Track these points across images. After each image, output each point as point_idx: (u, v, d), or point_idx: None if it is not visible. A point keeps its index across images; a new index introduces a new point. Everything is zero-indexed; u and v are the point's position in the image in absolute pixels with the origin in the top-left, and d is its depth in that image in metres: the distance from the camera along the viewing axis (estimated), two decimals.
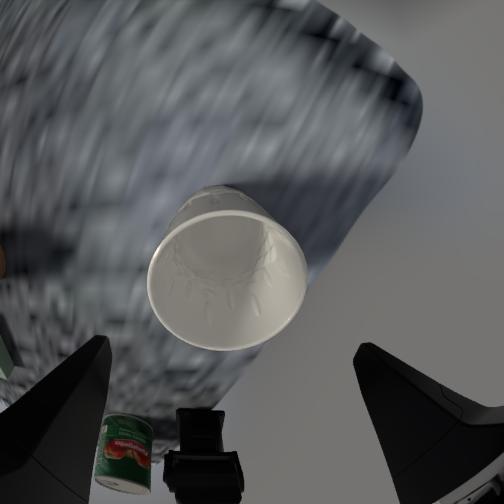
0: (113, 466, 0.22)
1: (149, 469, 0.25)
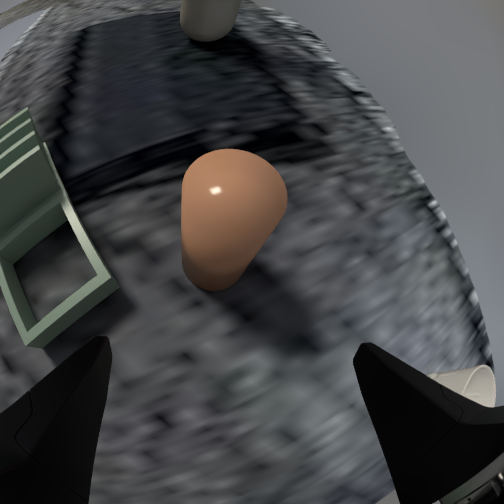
0: None
1: None
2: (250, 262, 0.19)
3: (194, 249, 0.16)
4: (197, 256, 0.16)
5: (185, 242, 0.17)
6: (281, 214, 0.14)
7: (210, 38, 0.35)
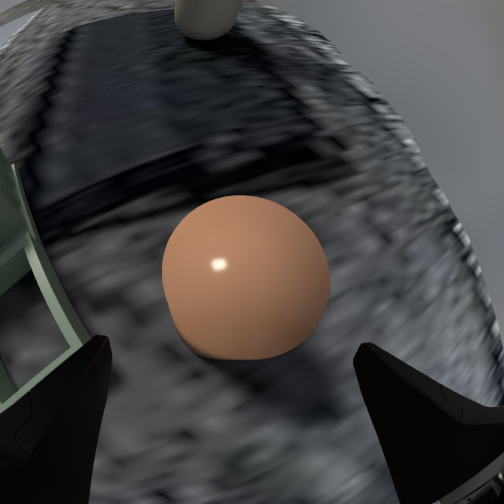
0: None
1: None
2: None
3: (189, 342, 0.11)
4: (194, 347, 0.11)
5: (176, 326, 0.11)
6: (322, 309, 0.09)
7: (209, 36, 0.31)
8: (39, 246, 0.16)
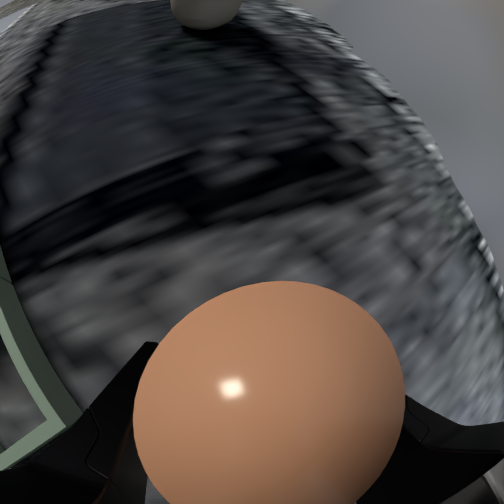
0: None
1: None
2: None
3: None
4: None
5: None
6: (389, 453, 0.04)
7: (209, 25, 0.26)
8: (4, 285, 0.11)
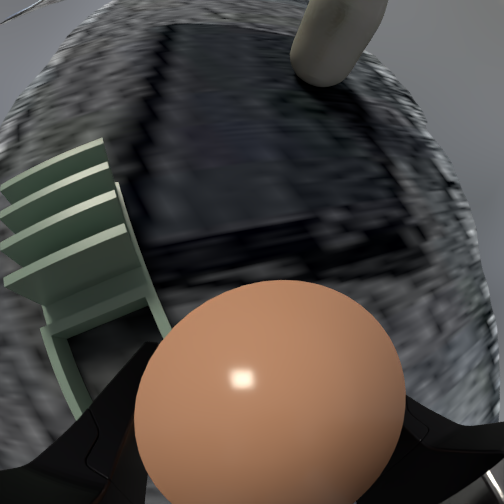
0: None
1: None
2: None
3: None
4: None
5: None
6: (390, 452, 0.04)
7: (321, 85, 0.35)
8: (156, 293, 0.19)
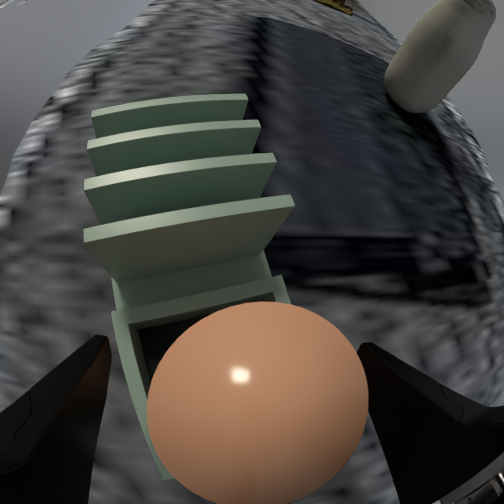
0: None
1: None
2: None
3: None
4: None
5: None
6: (355, 443, 0.05)
7: (412, 110, 0.32)
8: None
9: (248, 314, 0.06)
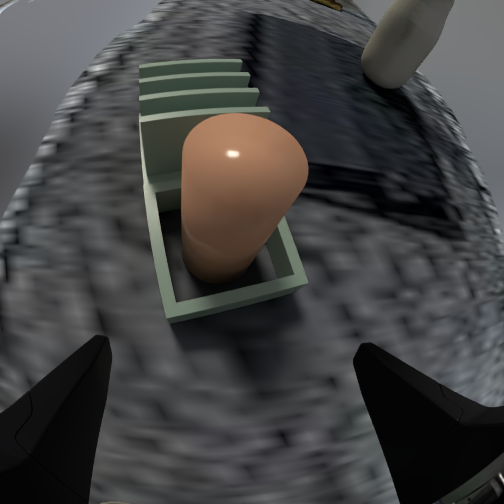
0: None
1: None
2: (261, 248, 0.17)
3: (196, 230, 0.13)
4: (200, 239, 0.14)
5: (185, 223, 0.14)
6: (302, 184, 0.11)
7: (385, 85, 0.38)
8: None
9: (237, 116, 0.12)
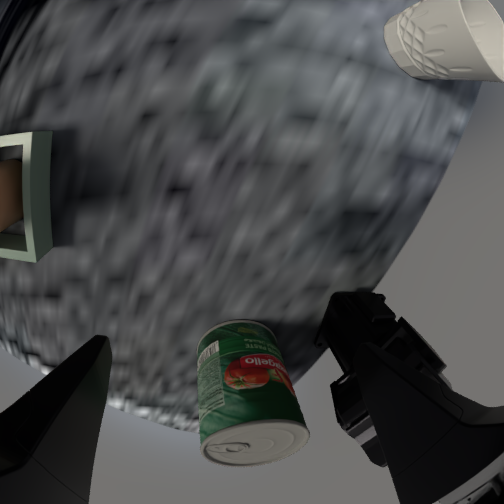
0: (256, 401, 0.16)
1: None
2: None
3: None
4: None
5: None
6: None
7: None
8: None
9: None
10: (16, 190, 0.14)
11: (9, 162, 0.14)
